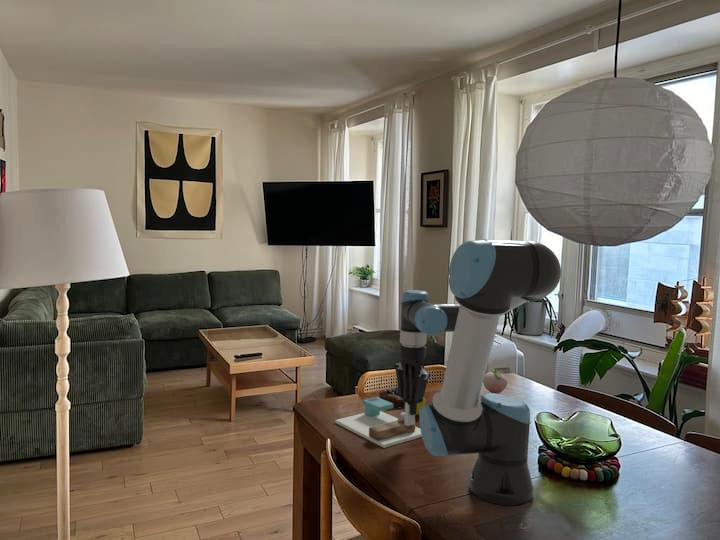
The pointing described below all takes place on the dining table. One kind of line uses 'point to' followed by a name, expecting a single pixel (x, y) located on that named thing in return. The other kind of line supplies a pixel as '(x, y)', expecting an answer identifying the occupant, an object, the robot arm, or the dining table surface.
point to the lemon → (420, 406)
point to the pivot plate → (364, 422)
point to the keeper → (376, 406)
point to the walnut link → (390, 429)
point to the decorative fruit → (494, 382)
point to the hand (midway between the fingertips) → (409, 424)
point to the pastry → (392, 397)
